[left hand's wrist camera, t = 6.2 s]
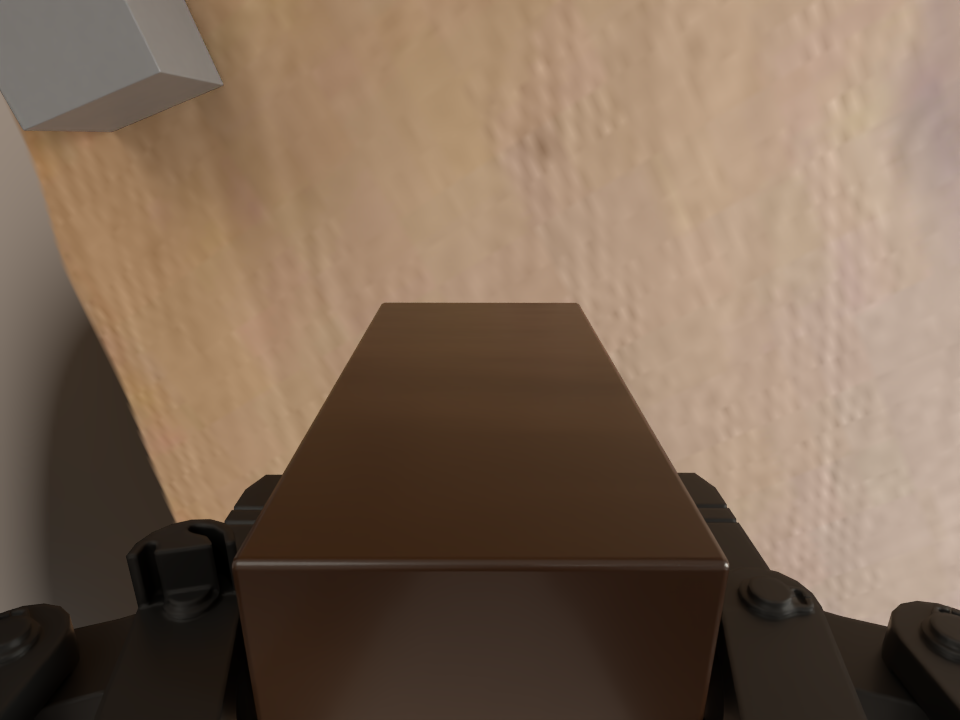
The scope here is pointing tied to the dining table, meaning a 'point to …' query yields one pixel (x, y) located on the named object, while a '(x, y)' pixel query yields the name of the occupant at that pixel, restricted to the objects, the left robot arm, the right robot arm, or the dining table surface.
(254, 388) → the dining table surface
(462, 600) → the plank
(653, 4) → the dining table surface
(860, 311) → the dining table surface
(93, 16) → the grey block
